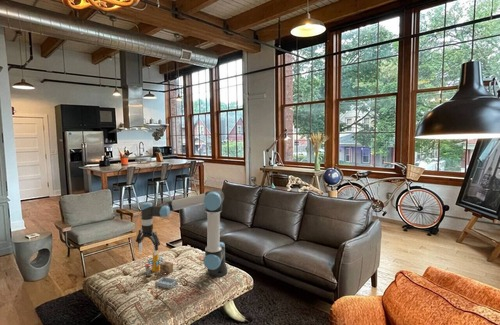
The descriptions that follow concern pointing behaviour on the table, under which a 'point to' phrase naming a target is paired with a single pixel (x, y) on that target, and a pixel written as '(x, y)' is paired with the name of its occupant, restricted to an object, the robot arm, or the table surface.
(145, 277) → the socket block
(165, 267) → the block
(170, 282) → the tray
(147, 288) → the table surface
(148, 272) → the pin
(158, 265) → the cylinder
